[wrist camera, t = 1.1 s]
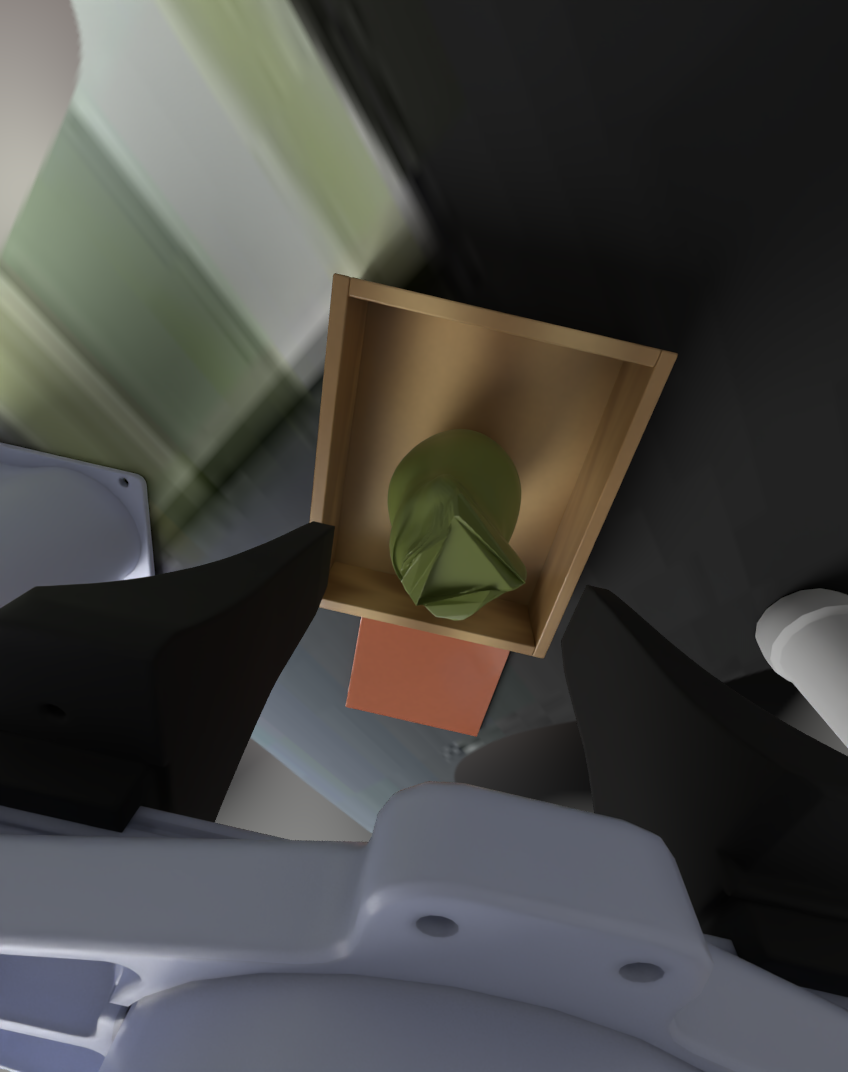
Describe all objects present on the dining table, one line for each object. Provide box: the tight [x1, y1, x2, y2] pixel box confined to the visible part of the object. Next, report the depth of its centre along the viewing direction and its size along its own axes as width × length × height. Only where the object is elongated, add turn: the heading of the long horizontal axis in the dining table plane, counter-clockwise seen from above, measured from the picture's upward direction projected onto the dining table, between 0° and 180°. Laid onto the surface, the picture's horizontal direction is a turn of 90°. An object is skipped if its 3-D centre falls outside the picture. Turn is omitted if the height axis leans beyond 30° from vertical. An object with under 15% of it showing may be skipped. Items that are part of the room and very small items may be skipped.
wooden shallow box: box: [310, 273, 678, 658], centre depth 20 cm, size 12×14×4 cm
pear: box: [388, 429, 527, 621], centre depth 17 cm, size 6×5×10 cm
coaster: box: [346, 617, 510, 736], centre depth 27 cm, size 9×9×1 cm
